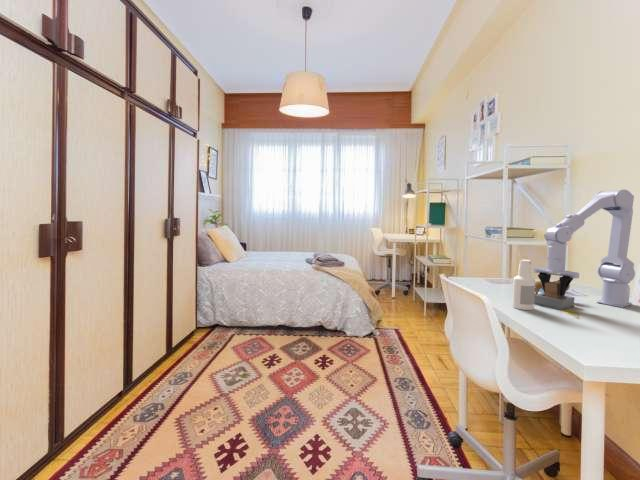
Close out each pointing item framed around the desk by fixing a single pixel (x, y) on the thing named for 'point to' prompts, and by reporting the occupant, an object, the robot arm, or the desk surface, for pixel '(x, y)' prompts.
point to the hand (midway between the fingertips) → (554, 293)
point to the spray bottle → (524, 287)
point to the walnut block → (552, 290)
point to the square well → (554, 301)
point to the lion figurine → (539, 286)
